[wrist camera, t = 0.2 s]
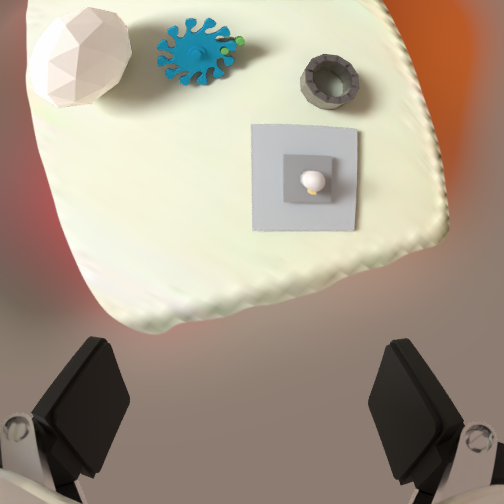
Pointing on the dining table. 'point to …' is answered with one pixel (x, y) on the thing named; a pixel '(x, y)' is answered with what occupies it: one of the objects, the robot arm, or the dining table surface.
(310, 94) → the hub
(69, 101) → the geometric sphere
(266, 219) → the shaft stand
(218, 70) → the gear
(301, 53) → the dining table surface
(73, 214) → the dining table surface
